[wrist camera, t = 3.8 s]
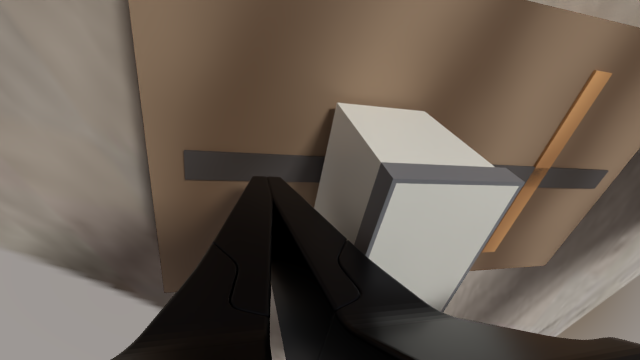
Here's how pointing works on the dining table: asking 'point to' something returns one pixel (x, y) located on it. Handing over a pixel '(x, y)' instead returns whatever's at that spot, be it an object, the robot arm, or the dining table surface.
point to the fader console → (380, 103)
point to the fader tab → (411, 196)
